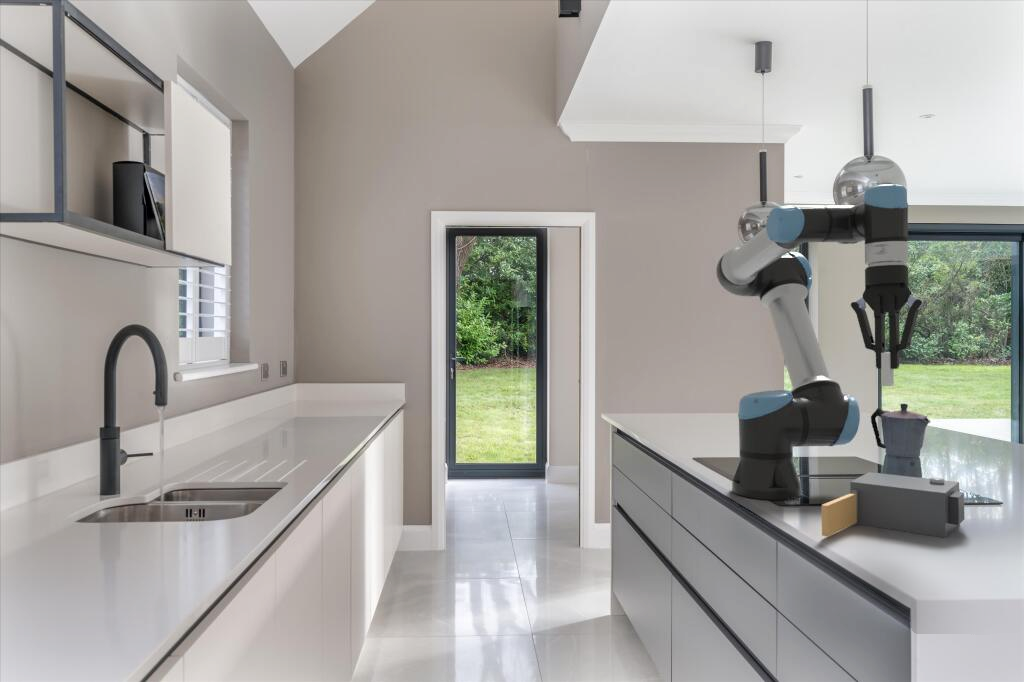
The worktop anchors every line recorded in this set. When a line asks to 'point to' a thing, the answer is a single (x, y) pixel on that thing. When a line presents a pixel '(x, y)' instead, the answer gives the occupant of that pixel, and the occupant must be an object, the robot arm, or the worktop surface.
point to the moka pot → (901, 440)
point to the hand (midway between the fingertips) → (887, 385)
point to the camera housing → (909, 503)
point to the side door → (840, 513)
